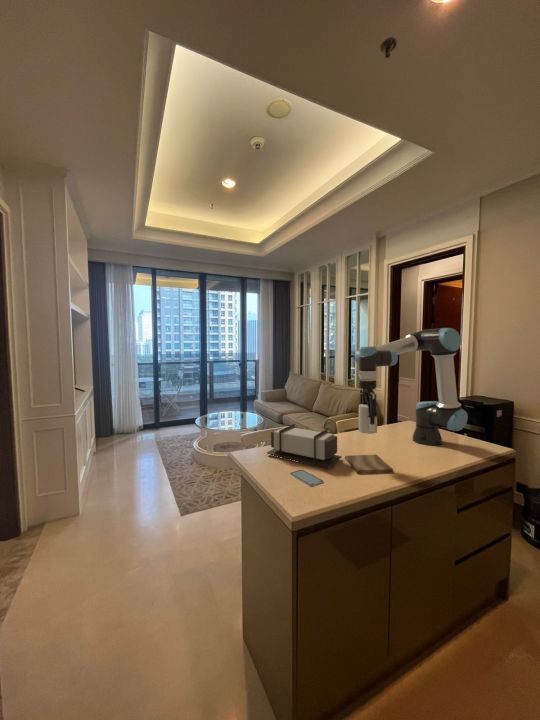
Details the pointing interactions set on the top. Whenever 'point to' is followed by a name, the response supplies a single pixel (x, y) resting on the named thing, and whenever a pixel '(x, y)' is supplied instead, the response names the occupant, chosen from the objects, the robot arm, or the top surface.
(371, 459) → the walnut board
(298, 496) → the top surface
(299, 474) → the smartphone
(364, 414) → the beige cylinder
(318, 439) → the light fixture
